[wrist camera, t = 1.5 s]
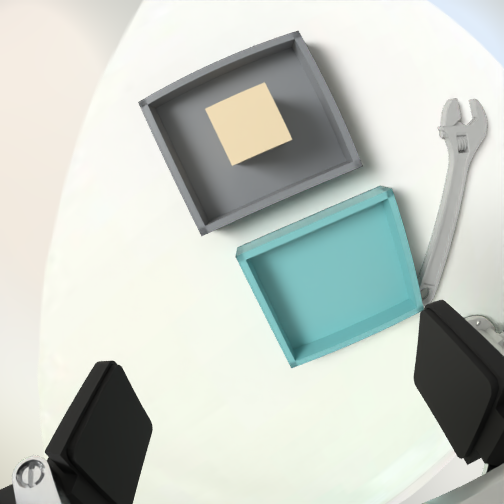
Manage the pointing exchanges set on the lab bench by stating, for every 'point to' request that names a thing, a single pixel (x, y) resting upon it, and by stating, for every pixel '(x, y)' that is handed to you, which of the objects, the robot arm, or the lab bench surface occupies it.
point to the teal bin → (334, 276)
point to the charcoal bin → (266, 164)
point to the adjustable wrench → (451, 187)
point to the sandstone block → (248, 124)
